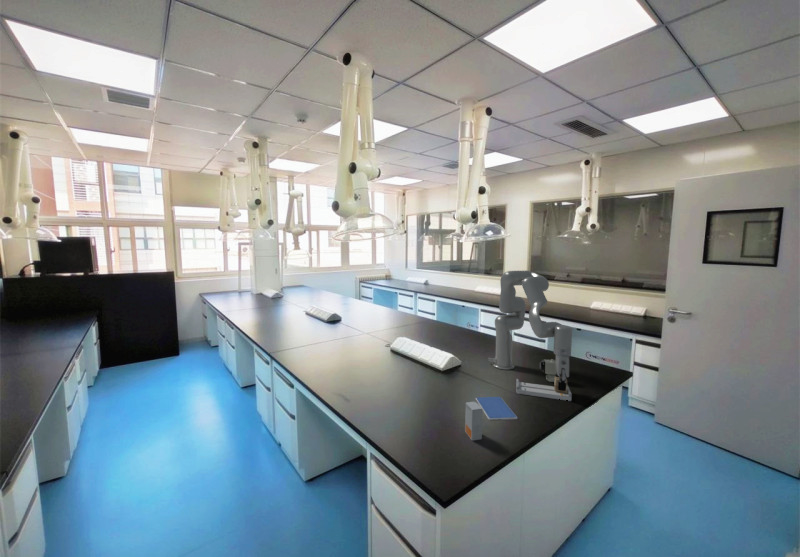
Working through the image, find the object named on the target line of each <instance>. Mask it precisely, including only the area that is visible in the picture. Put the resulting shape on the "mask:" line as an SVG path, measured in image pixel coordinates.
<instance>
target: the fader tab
mask: <svg viewBox="0 0 800 557" xmlns="http://www.w3.org/2000/svg"><path fill="white" fill-rule="evenodd" d="M558 381H559V377H555V382H553V383H554V384H553V385H554V386H553V387H554V390H555V392H563V393H567V385H568V379H567V378H566V391H561V390H558Z"/></svg>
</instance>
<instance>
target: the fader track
mask: <svg viewBox="0 0 800 557" xmlns="http://www.w3.org/2000/svg"><path fill="white" fill-rule="evenodd" d="M515 381H516V382H515V385H516V387H515V390H516V394H518V395H519V394H520V395H526V396H531V397H537V398H538V397H539V398H545V399H546V398H547V399H552V400H559V399H560V400H561V401H566V400H568V402H572V396H573V394H572V392H571V389H570V386H569V385H568V384H567V393H563V392H555V390H554V386H552V385H546V384H537V383H529V382H522V381H520V380H519V379H518V378H516V380H515Z"/></svg>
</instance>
